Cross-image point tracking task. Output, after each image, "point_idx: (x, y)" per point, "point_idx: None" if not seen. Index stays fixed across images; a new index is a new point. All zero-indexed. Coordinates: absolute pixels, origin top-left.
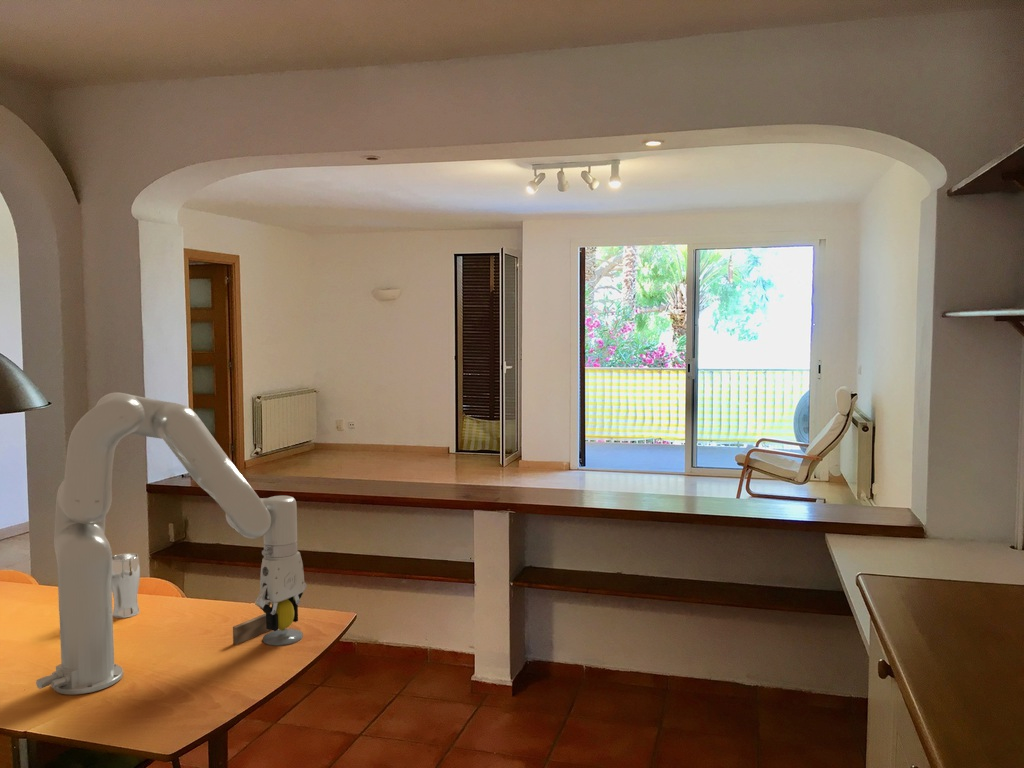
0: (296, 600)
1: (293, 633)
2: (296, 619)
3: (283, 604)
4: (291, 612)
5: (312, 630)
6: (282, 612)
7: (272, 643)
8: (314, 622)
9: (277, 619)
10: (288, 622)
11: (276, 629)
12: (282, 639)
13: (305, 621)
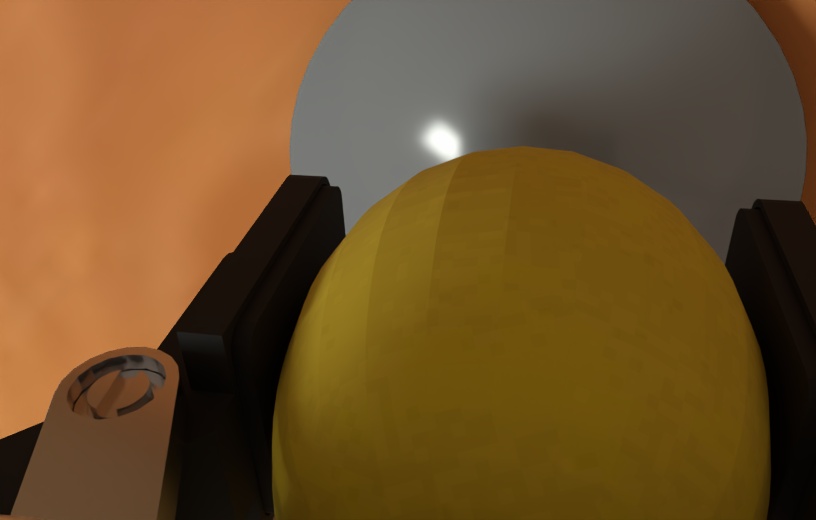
0: (137, 430)
1: (399, 131)
2: (313, 188)
3: (626, 512)
4: (486, 230)
5: (153, 27)
6: (714, 347)
7: (806, 140)
8: (10, 178)
9: (812, 304)
10: (574, 156)
11: (799, 204)
12: (629, 117)
13: (66, 274)
